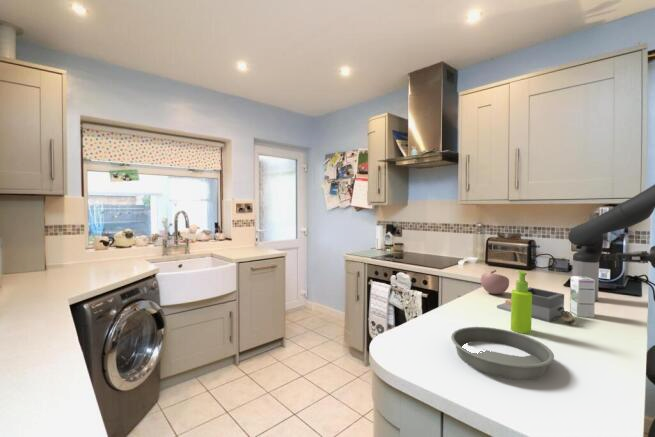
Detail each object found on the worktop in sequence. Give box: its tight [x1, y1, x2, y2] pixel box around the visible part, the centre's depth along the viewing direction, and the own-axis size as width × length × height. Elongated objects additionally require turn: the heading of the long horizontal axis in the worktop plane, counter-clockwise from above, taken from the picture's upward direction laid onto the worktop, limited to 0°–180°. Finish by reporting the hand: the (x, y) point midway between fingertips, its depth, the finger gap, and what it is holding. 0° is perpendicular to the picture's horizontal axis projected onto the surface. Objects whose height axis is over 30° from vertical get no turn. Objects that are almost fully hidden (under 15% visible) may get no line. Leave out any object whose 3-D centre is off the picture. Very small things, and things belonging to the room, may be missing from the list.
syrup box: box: [569, 276, 596, 318], centre depth 121 cm, size 6×6×14 cm
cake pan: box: [450, 326, 555, 380], centre depth 86 cm, size 25×25×4 cm
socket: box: [496, 286, 565, 323], centre depth 124 cm, size 12×19×8 cm, turn 32°
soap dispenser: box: [510, 270, 533, 335], centre depth 106 cm, size 6×7×20 cm
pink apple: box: [480, 269, 510, 295], centre depth 150 cm, size 12×12×12 cm
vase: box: [557, 307, 579, 327], centre depth 112 cm, size 5×5×6 cm
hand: (609, 256), depth 112 cm, fingers open, 8 cm apart
